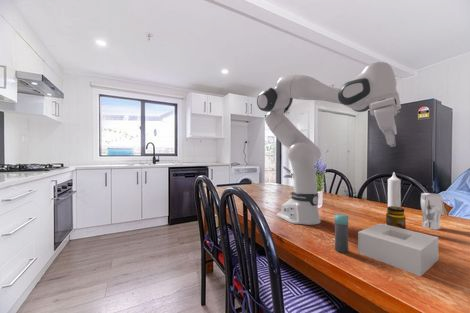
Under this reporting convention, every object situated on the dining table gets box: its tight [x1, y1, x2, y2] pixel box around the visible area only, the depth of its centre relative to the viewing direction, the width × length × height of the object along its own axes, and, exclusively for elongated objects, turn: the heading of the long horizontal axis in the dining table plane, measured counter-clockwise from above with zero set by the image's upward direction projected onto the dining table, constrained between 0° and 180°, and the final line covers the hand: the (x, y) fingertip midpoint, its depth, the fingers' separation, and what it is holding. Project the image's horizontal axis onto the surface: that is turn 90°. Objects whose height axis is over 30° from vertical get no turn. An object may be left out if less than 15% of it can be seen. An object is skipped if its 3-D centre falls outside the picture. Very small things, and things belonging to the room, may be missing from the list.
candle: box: [385, 171, 402, 225], centre depth 91 cm, size 7×7×25 cm
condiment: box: [385, 206, 407, 230], centre depth 81 cm, size 7×8×12 cm
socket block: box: [357, 223, 439, 277], centre depth 66 cm, size 16×16×7 cm
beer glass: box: [420, 192, 443, 231], centre depth 91 cm, size 7×7×15 cm
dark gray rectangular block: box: [334, 213, 349, 254], centre depth 70 cm, size 4×4×12 cm
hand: (391, 145), depth 70 cm, fingers open, 8 cm apart
